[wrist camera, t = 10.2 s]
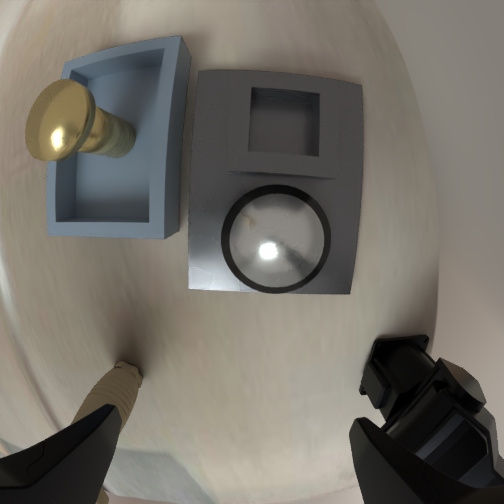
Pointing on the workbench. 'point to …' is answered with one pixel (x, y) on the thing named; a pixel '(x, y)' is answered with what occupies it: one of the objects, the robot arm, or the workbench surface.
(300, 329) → the workbench surface
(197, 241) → the grey socket base
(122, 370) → the handle
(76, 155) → the pin tray
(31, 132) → the pin
